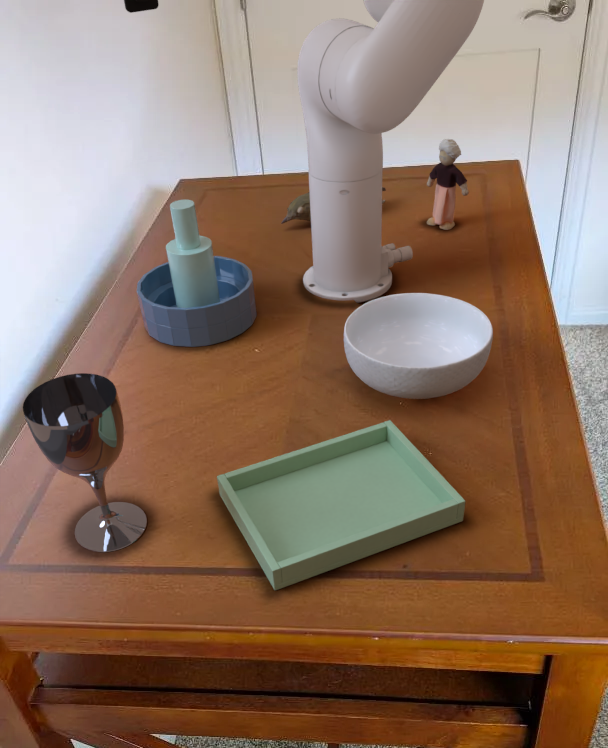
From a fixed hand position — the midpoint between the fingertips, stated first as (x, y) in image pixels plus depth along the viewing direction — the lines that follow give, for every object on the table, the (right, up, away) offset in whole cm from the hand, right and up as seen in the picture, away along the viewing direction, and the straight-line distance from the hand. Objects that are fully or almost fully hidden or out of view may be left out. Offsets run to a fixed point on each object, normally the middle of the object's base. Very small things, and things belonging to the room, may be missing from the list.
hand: (129, 2), depth 78 cm
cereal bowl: (+31, -36, +13) cm, 49 cm away
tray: (+21, -51, -2) cm, 56 cm away
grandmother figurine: (+40, -5, +44) cm, 60 cm away
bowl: (+4, -25, +26) cm, 36 cm away
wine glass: (-1, -53, -2) cm, 53 cm away
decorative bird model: (+23, -2, +49) cm, 54 cm away
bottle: (+4, -25, +25) cm, 36 cm away
